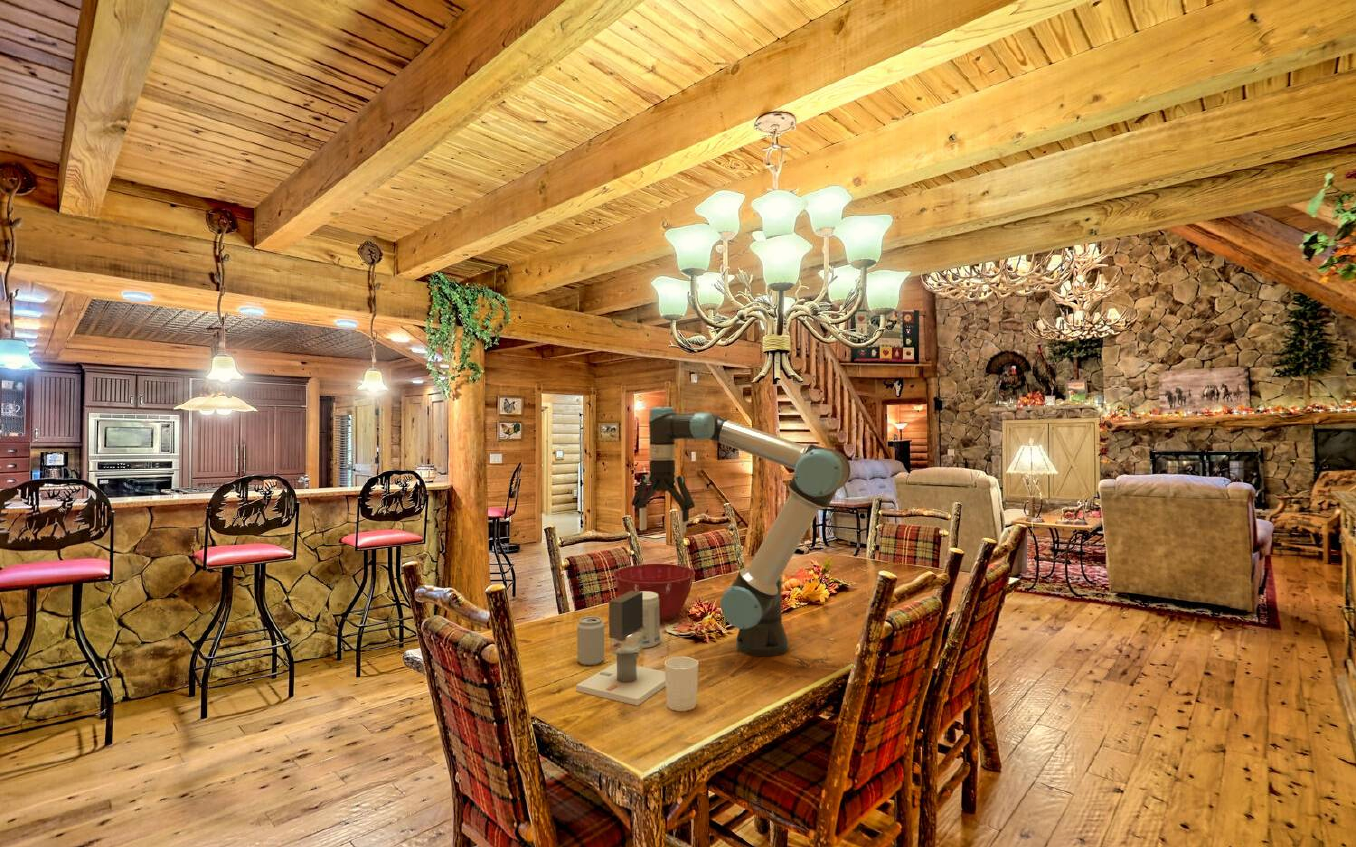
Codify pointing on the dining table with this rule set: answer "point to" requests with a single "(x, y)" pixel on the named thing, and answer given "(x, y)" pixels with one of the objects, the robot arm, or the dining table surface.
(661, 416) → the robot arm
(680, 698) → the white cup
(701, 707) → the dining table surface
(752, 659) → the dining table surface
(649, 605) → the supplement tub
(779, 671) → the dining table surface
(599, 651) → the can
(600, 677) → the post base
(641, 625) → the coupling
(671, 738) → the dining table surface
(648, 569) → the mixing bowl
